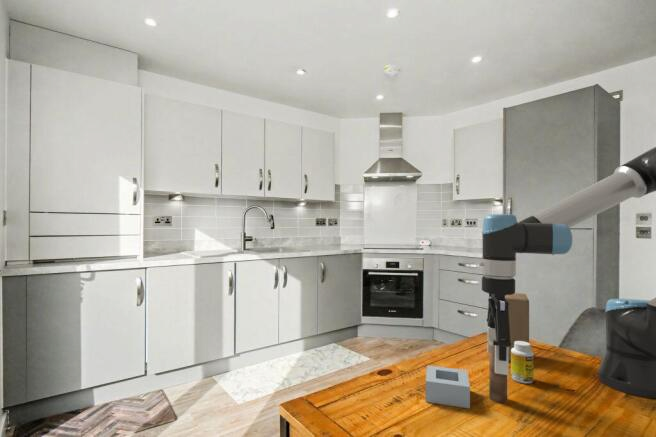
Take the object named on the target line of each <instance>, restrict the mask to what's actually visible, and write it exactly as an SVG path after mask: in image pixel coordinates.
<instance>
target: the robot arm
mask: <svg viewBox="0 0 656 437" xmlns="http://www.w3.org/2000/svg"><path fill="white" fill-rule="evenodd" d="M654 192H656V146H654V147H653V148H650V149H649V150H647V151H645V152H644V153H641V154H640V155H638V156H637V157H635V158H632V159H631V160H629V161H627V162H626V163H624V164H622V165H620V166H618V167H616V168H615V170H614V171H613V174H611V175H609V176H607V177H605V178H603V179H601V180H599V181H597V182H595V183H593V184H591V185H589V186H587V187H586V188H584V189H581V190H579V191H578V192H575V193H574V194H572V195H570V196H567V197H565V198H563V199H561V200H559V201H558V202H555V203H553V204H552V205H549V206H547V207H546V208H544V209H542V210H540V211H538V212H536V213H534V214H532V215H530V216H528V217H527V218H525V219H522V220H520V221H518V220H517V216H516V215H515V214H502V213H501V214H493V213H492V214H487V215H485V216H484V217H483V221H482V222H483V223H482V232H481V234H482V235H481V236H482V237H481V238H482V261H481V262H479V266H480V267H481V273H482V274H483V276H482V277H481V291H483V292H484V293H487V294H488V305H487V306H488V307H487V308H488V309H487V316H486V318H487V319H486V322H487V353H488V354H489V341H490V340H496V341H493V345H495V373H497V374H504V375H507V376H508V375H509V361H508V359H509V346H511V342H510V328H509V313H508V305H509V303H508V302H506V300H505V295H512V294H514V293H516V279H515V278H514V277H516V274H517V269H516V268H517V257H516V256H517V254H534V255H535V254H537V255H552V256H555V255H564V254H565V255H566V254H567V253H569V251H570V250H571V249H572V246H573V233H572V230H571V229H570V228H573V227H575V226H576V225H578V224H580V223H583V222H585V221H587V220H589V219H590V218H592V217H595V216H597V215H600V214H601V213H603V212H605V211H607V210H609V209H611V208H613V207H615V206H617V205H619V204H622V203H623V202H625V201H627V200H629V199H631V198H635V199H636V198H637V199H639V198H642V197H644V196H646V195H648V194H651V193H654ZM604 312H605V340H606V341H605V345H606V346H605V348H606V349H605V353H604V356H603V358H602V360H601V363H600V365H599V367H598V374H597V375H598V376H597V377H598V380H599V381H600V382H601V383H602V384H604V385H606V386H608V387H609V388H612V389H614V390H617V391H620V392H623V393H626V394H629V395H633V396H638V397H642V398H648V399H656V297H654V298H653V299H650V300H648V299H645V300H644V299H634V298H632V299H631V298H628V299H627V298H610V299H608V300H607V302H606V305H605V311H604ZM501 339H505V340H501Z"/></svg>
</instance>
